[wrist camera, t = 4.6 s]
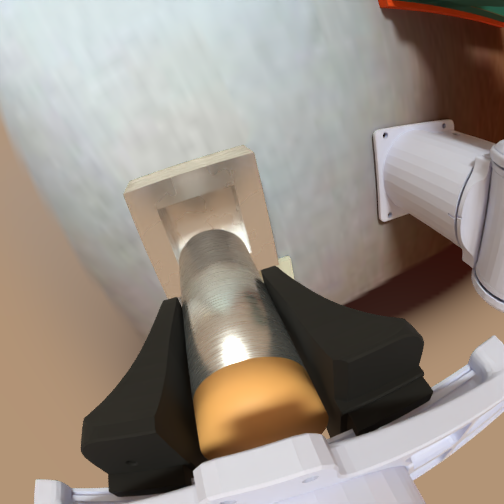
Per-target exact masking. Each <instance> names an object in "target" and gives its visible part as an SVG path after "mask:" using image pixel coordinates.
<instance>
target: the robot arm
mask: <svg viewBox="0 0 504 504" xmlns="http://www.w3.org/2000/svg"><path fill="white" fill-rule="evenodd" d="M442 124H443V127H442ZM384 133H385V137H384V138H383V134H384ZM373 142H374V152H375V163H376V175H377V190H378V211H379V219H380V220H381V221H383V222H386V221H389V220H392V219H395V218H397V217H400V216H403V215H406V214H411V215H412V216H414V217H416V218H417V219H419V220H420V221H422V222H423V223H425V224H426V225H428V226H430V227H431V228H433V229H434V230H436V231H437V232H439V233H440V234H442V235H443V236H444V237H446V238H447V239H449V240H450V241H452V242H453V243H455V244H456V245H458V246H459V247H460V248H462V250H463V257H462V260H463V261H464V262H466V263H467V264H468V265H470V266H471V267H472V268H473V270H472V275H471V276H472V283H473V286H474V288H475V290H476V291H477V292H478V294H479V295H480V296H481V297H482V298H483V299H484V301H486V302H487V303H488V304H489V305H490V306H492V307H493V308H495V309H496V310H498V311H500V312H503V313H504V140H501V141H499V142H498V143H497V144H495V143H492V142H489V141H486V140H483V139H480V138H477V137H474V136H471V135H467V134H464V133H461V132H457V131H454V123H453V121H452V120H450V119H445V120H437V121H430V122H422V123H415V124H409V125H402V126H396V127H390V128H384V129H378V130H375V132H374V133H373ZM389 213H390V214H389ZM388 214H389V216H388ZM261 273H262V277H263V281H264V284H265V286H266V289H267V291H268V293H269V295H270V297H271V299H272V301H273V303H274V305H275V307H276V309H277V311H278V313H279V315H280V317H281V319H282V321H283V323H284V326H285V328H286V330H287V332H288V334H289V336H290V338H291V340H292V342H293V344H294V346H295V348H296V350H297V352H298V354H299V356H300V358H301V360H302V363H303V365H304V367H305V369H306V371H307V373H308V375H309V377H310V379H311V381H312V383H313V385H314V387H315V389H316V391H317V393H318V395H319V397H320V399H321V402H322V404H323V406H324V408H325V410H326V412H327V414H328V418H329V419H328V424H327V427H326V428H327V430H328V433H329V435H330V438H329V439H327V440H326V438H325V437H324V436H323V435H321V434H318V433H304V434H300V435H296V436H291V437H288V438H285V439H282V440H279V441H276V442H273V443H270V444H266V445H263V446H260V447H256V448H253V449H249V450H246V451H242V452H238V453H234V454H231V455H227V456H222V457H218V458H215V459H212V460H208V459H207V458H205V457H204V456H203V454H202V453H201V450H200V444H199V438H198V432H197V426H196V420H195V413H194V406H193V399H192V392H191V385H190V377H189V369H188V360H187V352H186V343H185V333H184V323H183V312H182V307H181V305H180V302H179V300H178V298H177V297H174V298H171V299H168V300H164V301H163V303H162V305H161V307H160V309H159V312H158V314H157V317H156V319H155V322H154V324H153V326H152V328H151V331H150V333H149V335H148V337H147V339H146V341H145V343H144V345H143V347H142V349H141V351H140V353H139V355H138V357H137V358H136V360H135V362H134V363H133V365H132V366H131V368H130V369H129V371H128V372H127V373H126V375H125V376H124V377H123V378H122V380H121V381H120V383H119V384H118V385H117V386H116V388H115V389H114V390H113V391H112V392H111V393H110V394H109V395H108V396H107V398H106V399H105V400H104V401H103V402H102V403H101V404H100V405H99V406H97V407H96V408H95V409H94V410H93V411H92V412H91V413H90V414H89V415H88V416H86V417H85V418H84V421H83V427H82V439H81V452H82V454H83V455H84V457H85V458H86V459H88V460H89V461H90V462H92V463H93V464H94V465H96V466H97V467H99V468H100V469H102V470H103V471H105V472H106V473H108V479H109V481H108V482H109V488H70V487H69V486H68V485H66V484H65V483H63V482H60V481H57V480H42V479H37V480H36V483H35V496H34V504H426V503H425V501H424V499H423V498H422V496H421V494H420V492H419V490H418V489H417V487H416V485H415V483H414V482H413V480H415V479H416V478H418V477H420V476H421V475H423V474H424V473H426V472H427V471H429V470H430V469H432V468H433V467H435V466H436V465H437V464H439V463H440V462H442V461H443V460H445V459H446V458H447V457H449V456H450V455H451V454H453V453H454V452H455V451H457V450H458V449H459V448H461V447H462V446H463V445H464V444H466V443H467V442H468V441H470V440H471V439H472V438H473V437H474V436H476V435H477V434H478V433H479V432H481V431H482V430H483V429H484V428H485V427H486V426H488V425H489V424H490V423H491V422H492V421H493V420H495V419H496V418H497V417H498V416H499V415H500V414H502V413H503V412H504V344H503V343H502V342H501V341H500V340H499V339H498V338H497V337H496V336H492V337H491V338H489V339H488V340H487V341H485V342H484V343H483V344H481V345H480V346H479V347H477V348H476V349H475V350H474V351H473V353H472V354H471V356H470V359H469V362H468V364H467V365H466V366H464V367H463V368H461V369H460V370H458V371H457V372H455V373H454V374H452V375H451V376H449V377H447V378H446V379H444V380H443V381H441V382H440V383H438V384H436V385H435V386H433V387H430V386H429V385H428V383H427V382H426V381H425V379H424V378H423V376H424V372H423V370H422V369H421V368H420V366H419V363H420V359H421V355H422V352H423V346H424V341H423V338H422V336H421V335H420V334H419V333H418V332H417V331H416V329H415V328H414V327H413V326H412V325H411V324H409V323H408V322H407V321H406V320H405V319H403V318H393V317H386V316H379V315H374V314H370V313H366V312H361V311H358V310H355V309H351V308H348V307H345V306H343V305H340V304H337V303H335V302H333V301H330V300H328V299H326V298H324V297H322V296H320V295H318V294H316V293H315V292H313V291H311V290H309V289H308V288H306V287H305V286H303V285H301V284H300V283H298V282H297V281H295V280H294V279H293V278H291V277H290V276H288V275H287V274H286V273H284V272H283V271H282V270H281V269H279V268H278V267H277V266H272V267H269V268H266V269H262V270H261Z"/></svg>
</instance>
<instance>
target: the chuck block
mask: <svg viewBox="0 0 504 504" xmlns="http://www.w3.org/2000/svg"><path fill="white" fill-rule="evenodd" d="M123 195H124V198H125V200H126V203H127V205H128V208H129V210H130V213H131V215H132V218H133V220H134V223H135V225H136V228H137V230H138V233H139V235H140V237H141V240H142V242H143V244H144V247H145V249H146V251H147V254H148V256H149V258H150V261H151V263H152V265H153V267H154V270H155V272H156V274H157V276H158V278H159V281H160V283H161V285H162V287H163V289H164V291H165V293H166V296H167V298H168V299H171V298H174V297H177V298H178V297H181V288H180V274H179V256H180V253H181V250H182V248H183V247H184V245H185V244H186V243H187V241H188V240H190V239H191V238H192V237H193V236H195V235H196V234H198V233H200V232H203V231H206V230H212V229H220V230H226V231H229V232H232V233H233V234H235V235H237V236H238V237H239V238H240V239H241V240H242V241H243V242H244V243H245V245H246V247H247V249H248V251H249V253H250V255H251V257H252V259H253V262H254V264H255V266H256V268H257V270H258V272H259V271H261V270H262V269H266V268H269V267H272V266H277V265H279V262H278V258H277V253H276V248H275V244H274V239H273V234H272V230H271V225H270V221H269V216H268V212H267V207H266V203H265V198H264V194H263V189H262V185H261V181H260V176H259V172H258V167H257V163H256V159H255V154H254V152H253V151H251V150H250V149H249V148H247V147H246V146H244V145H241V146H237V147H234V148H230V149H226V150H223V151H219V152H216V153H213V154H209V155H206V156H203V157H199V158H196V159H193V160H190V161H186V162H183V163H180V164H177V165H174V166H171V167H168V168H165V169H162V170H159V171H156V172H153V173H151V174H148V175H145V176H142V177H139V178H137V179H134V180H131V181H129V183H128V185H127V187H126V189H125V192H124V194H123Z"/></svg>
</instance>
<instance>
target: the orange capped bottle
mask: <svg viewBox="0 0 504 504" xmlns="http://www.w3.org/2000/svg"><path fill="white" fill-rule="evenodd" d="M179 274H180V288H181V300H182V312H183V323H184V333H185V343H186V352H187V360H188V369H189V377H190V385H191V392H192V399H193V406H194V413H195V420H196V426H197V432H198V438H199V444H200V450H201V453H202V454H203V456H204V457H205V458H207V459H208V460H212V459H215V458H218V457H222V456H227V455H231V454H234V453H238V452H242V451H246V450H249V449H253V448H256V447H260V446H263V445H266V444H270V443H273V442H276V441H279V440H282V439H285V438H288V437H291V436H296V435H300V434H304V433H318V434H322V433H323V431H324V430H325V429H326V427H327V424H328V419H329V418H328V414H327V412H326V410H325V408H324V406H323V404H322V402H321V399H320V397H319V395H318V393H317V391H316V389H315V387H314V385H313V383H312V381H311V379H310V377H309V375H308V373H307V371H306V369H305V367H304V365H303V363H302V360H301V358H300V356H299V354H298V352H297V350H296V348H295V346H294V344H293V342H292V340H291V338H290V336H289V334H288V332H287V330H286V328H285V326H284V323H283V321H282V319H281V317H280V315H279V313H278V311H277V309H276V307H275V305H274V303H273V301H272V299H271V297H270V295H269V293H268V291H267V289H266V286H265V284H264V282H263V280H262V278H261V276H260V274H259V272H258V270H257V268H256V266H255V264H254V262H253V259H252V257H251V255H250V253H249V251H248V249H247V247H246V245H245V243H244V242H243V241H242V240H241V239H240V238H239V237H238V236H237V235H235V234H233V233H232V232H229V231H226V230H220V229H212V230H206V231H203V232H200V233H198V234H196V235H195V236H193V237H192V238H191V239H190V240H188V241H187V243H186V244H185V245H184V247H183V248H182V250H181V253H180V256H179Z"/></svg>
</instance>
